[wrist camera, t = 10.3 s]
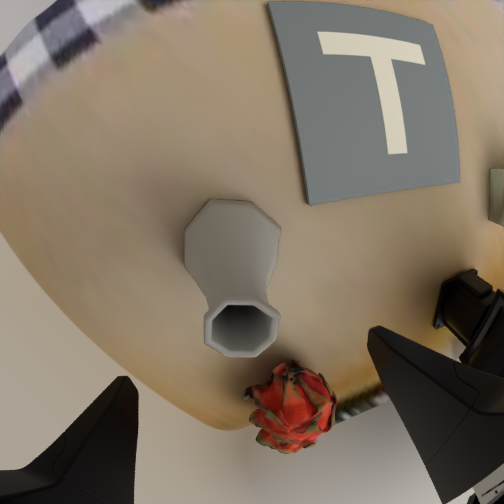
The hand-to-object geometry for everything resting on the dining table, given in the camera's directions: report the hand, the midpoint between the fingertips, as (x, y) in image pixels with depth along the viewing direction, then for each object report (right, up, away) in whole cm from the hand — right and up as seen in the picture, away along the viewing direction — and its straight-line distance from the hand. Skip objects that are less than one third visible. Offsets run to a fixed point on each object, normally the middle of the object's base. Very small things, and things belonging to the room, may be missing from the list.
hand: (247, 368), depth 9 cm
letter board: (+11, +16, +8) cm, 21 cm away
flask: (-1, +4, +11) cm, 12 cm away
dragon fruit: (+4, -10, +18) cm, 20 cm away
